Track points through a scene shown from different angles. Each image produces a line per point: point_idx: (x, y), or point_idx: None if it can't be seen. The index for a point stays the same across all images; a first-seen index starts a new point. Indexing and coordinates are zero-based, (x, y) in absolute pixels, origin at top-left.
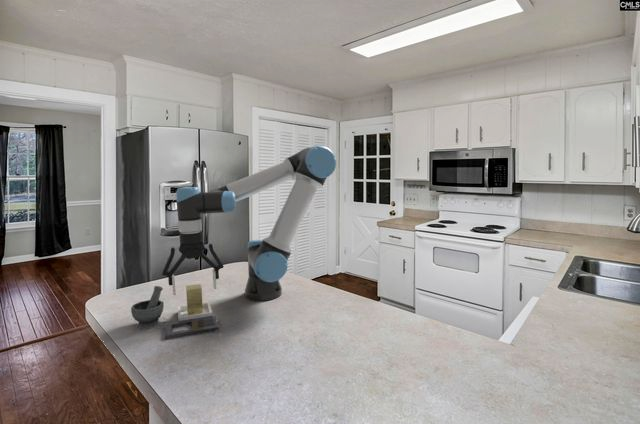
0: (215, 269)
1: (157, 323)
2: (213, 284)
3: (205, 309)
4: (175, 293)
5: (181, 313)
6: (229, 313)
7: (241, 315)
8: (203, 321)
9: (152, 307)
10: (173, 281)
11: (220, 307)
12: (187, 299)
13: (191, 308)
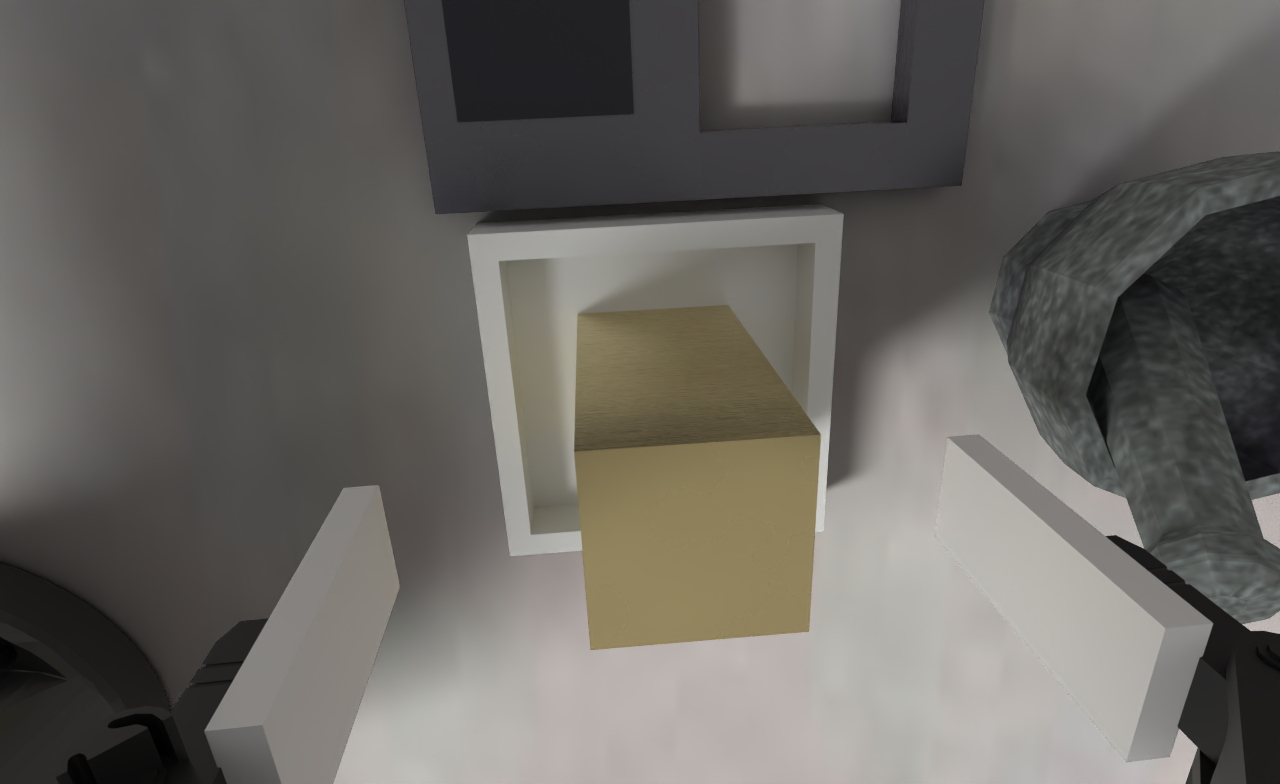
0: (177, 780)
1: (1014, 258)
2: (389, 610)
3: (554, 468)
4: (959, 447)
5: None
6: (296, 313)
7: (145, 209)
8: (567, 64)
9: (1162, 342)
10: (1108, 557)
11: (406, 499)
12: (771, 375)
13: (703, 335)
